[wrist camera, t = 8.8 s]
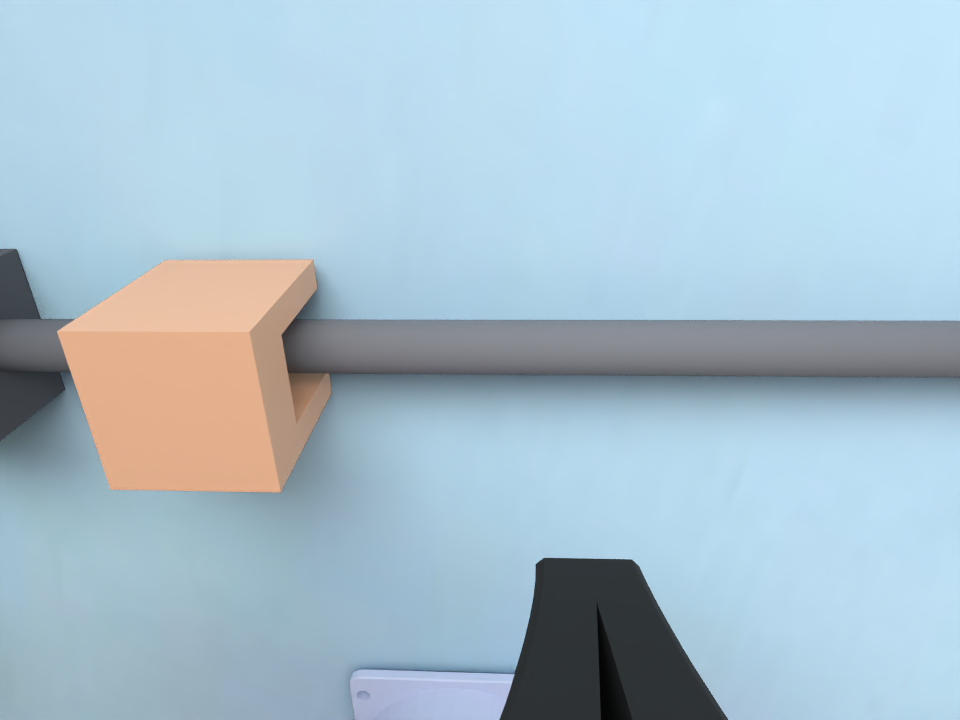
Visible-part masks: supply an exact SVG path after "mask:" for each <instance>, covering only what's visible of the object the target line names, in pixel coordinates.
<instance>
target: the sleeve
mask: <svg viewBox="0 0 960 720" xmlns="http://www.w3.org/2000/svg"><path fill="white" fill-rule="evenodd" d="M316 290H317V282H316V275H315V267H314V260H165V261H163V262H162V263H160V264H159V265H157V266H156V267H154V268H153V269H151V270H150V271H148V272H146V273H145V274H143V275H142V276H140V277H139V278H137V279H136V280H134V281H133V282H131V283H130V284H128V285H127V286H125V287H124V288H122V289H121V290H119V291H118V292H116V293H115V294H113V295H111V296H110V297H108V298H107V299H105V300H104V301H102V302H101V303H99V304H98V305H96V306H95V307H93V308H92V309H90V310H89V311H87V312H86V313H84V314H83V315H81V316H80V317H78V318H76V319H75V320H73V321H72V322H70V323H69V324H67V325H66V326H64V327H63V328H61V329H60V330H58V331H57V333H58V336H59V339H60V342H61V345H62V348H63V351H64V354H65V357H66V360H67V363H68V366H69V368H70V371H71V374H72V377H73V380H74V383H75V386H76V389H77V392H78V395H79V398H80V401H81V404H82V407H83V410H84V413H85V416H86V418H87V421H88V424H89V427H90V430H91V433H92V436H93V439H94V442H95V445H96V448H97V451H98V454H99V457H100V460H101V463H102V466H103V468H104V471H105V474H106V477H107V480H108V483H109V486H110V489H111V490H169V491H228V492H281V491H282V489H283V487H284V485H285V483H286V481H287V479H288V477H289V475H290V473H291V471H292V469H293V468H294V466H295V464H296V462H297V460H298V458H299V456H300V454H301V452H302V450H303V448H304V446H305V444H306V442H307V440H308V438H309V436H310V434H311V432H312V430H313V429H314V427H315V425H316V423H317V421H318V419H319V417H320V415H321V413H322V411H323V409H324V407H325V405H326V403H327V401H328V399H329V397H330V395H331V393H332V389H331V382H330V374H329V373H288V371H287V365H286V359H285V353H284V347H283V342H282V336H281V335H282V334H283V332H284V331H285V330H286V328H287V327H288V326H289V325H290V323H291V322H292V321H293V319H294V318H295V317H296V315H297V314H298V313H299V312H300V310H301V309H302V308H303V306H304V305H305V304H306V303H307V301H308V300H309V299H310V297H311V296H312V295H313V293H314V292H315V291H316Z"/></svg>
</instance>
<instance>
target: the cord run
mask: <svg viewBox="0 0 960 720" xmlns="http://www.w3.org/2000/svg"><path fill="white" fill-rule="evenodd" d="M85 313H86V312H85ZM73 320H75V319H40V317H39V314H38V311H37V308H36V305H35V302H34V299H33V297H32V294H31V291H30V288H29V285H28V282H27V279H26V276H25V274H24V271H23V268H22V265H21V262H20V259H19V256H18V254H17V251H16V249H0V441H1V440H2V439H3V438H5V437H6V436H7V435H8V434H10V433H11V432H12V431H13V430H15V429H16V428H17V427H18V426H20V425H21V424H22V423H23V422H25V421H26V420H27V419H28V418H30V417H31V416H32V415H33V414H35V413H36V412H37V411H38V410H40V409H41V408H42V407H43V406H45V405H46V404H47V403H48V402H50V401H51V400H52V399H53V398H55V397H56V396H57V395H59V394H60V393H61V392H62V391H64V390H65V388H64V385H63V382H62V380H61V377H60V374H59V372H71V371H70V368H69V366H68V363H67V360H66V357H65V354H64V351H63V348H62V345H61V342H60V339H59V336H58V333H57V331H58V330H60V329H61V328H63V327H64V326H66V325H67V324H69V323H70V322H72V321H73ZM281 336H282V342H283V347H284V353H285V359H286V365H287V371H288V373H340V374H493V375H645V376H798V377H951V378H960V321H757V320H293V321H292V322H291V323H290V325H289V326H288V327H287V328H286V330H285V331H284V332H283V334H282V335H281Z"/></svg>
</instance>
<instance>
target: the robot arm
mask: <svg viewBox="0 0 960 720" xmlns="http://www.w3.org/2000/svg"><path fill="white" fill-rule="evenodd" d="M349 687H350V693H351V699H352V705H353V711H354V717H355V720H728V719H727V717H726V716H725V714H724V713H723V711H722V710H721V708H720V706H719V705H718V703H717V702H716V700H715V699H714V697H713V696H712V694H711V692H710V691H709V689H708V688H707V686H706V685H705V683H704V682H703V680H702V678H701V677H700V675H699V674H698V672H697V671H696V669H695V667H694V666H693V664H692V663H691V661H690V659H689V658H688V656H687V654H686V653H685V651H684V649H683V648H682V646H681V644H680V643H679V641H678V639H677V637H676V636H675V634H674V632H673V631H672V629H671V627H670V625H669V624H668V622H667V620H666V618H665V617H664V615H663V613H662V611H661V609H660V607H659V606H658V604H657V602H656V600H655V598H654V596H653V594H652V592H651V590H650V588H649V586H648V584H647V582H646V580H645V578H644V576H643V574H642V572H641V570H640V567H639V566H638V565H637V564H636V563H635V562H634V561H633V560H625V559H573V558H543V559H542V560H541V561H539V562H538V563H537V564H536V581H535V590H534V597H533V604H532V609H531V614H530V619H529V623H528V627H527V631H526V636H525V640H524V644H523V647H522V651H521V654H520V657H519V661H518V664H517V667H516V671H515V674H496V673H465V672H434V671H402V670H371V669H361V670H357V671H355V672H353V673H352V675H351V678H350V683H349Z"/></svg>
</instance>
